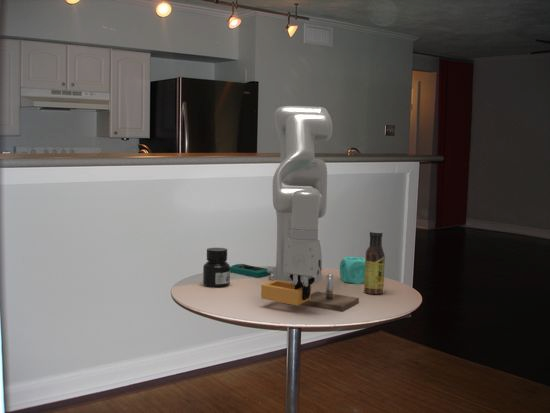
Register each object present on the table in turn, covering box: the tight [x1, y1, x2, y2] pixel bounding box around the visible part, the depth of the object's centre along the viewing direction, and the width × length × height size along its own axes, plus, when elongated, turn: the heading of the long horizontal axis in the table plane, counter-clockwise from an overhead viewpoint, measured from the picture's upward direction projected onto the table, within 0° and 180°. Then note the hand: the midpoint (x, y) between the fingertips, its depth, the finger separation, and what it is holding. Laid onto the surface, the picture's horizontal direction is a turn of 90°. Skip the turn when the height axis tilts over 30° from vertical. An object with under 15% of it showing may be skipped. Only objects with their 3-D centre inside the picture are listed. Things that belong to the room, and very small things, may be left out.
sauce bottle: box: [363, 230, 386, 295], centre depth 193 cm, size 6×6×20 cm
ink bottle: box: [202, 247, 231, 288], centre depth 199 cm, size 10×9×12 cm
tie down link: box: [260, 280, 312, 307], centre depth 173 cm, size 12×8×4 cm, turn 59°
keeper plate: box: [300, 273, 360, 313], centre depth 179 cm, size 14×12×9 cm
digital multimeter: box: [230, 263, 272, 279], centre depth 219 cm, size 7×15×3 cm, turn 51°
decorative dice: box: [339, 256, 366, 285], centre depth 210 cm, size 8×8×8 cm
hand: (302, 298), depth 171 cm, fingers closed on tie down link, 1 cm apart
